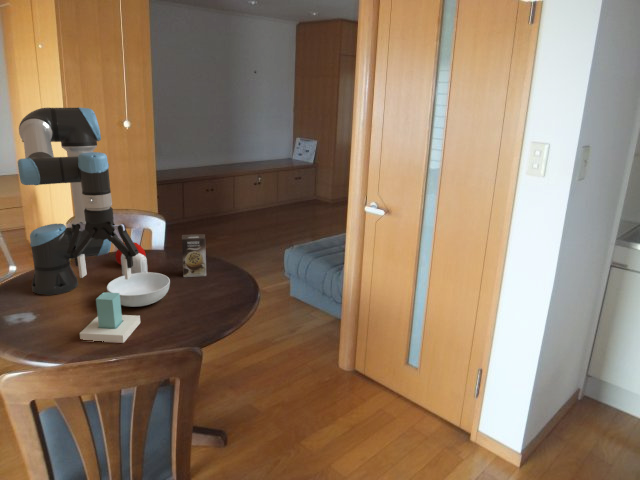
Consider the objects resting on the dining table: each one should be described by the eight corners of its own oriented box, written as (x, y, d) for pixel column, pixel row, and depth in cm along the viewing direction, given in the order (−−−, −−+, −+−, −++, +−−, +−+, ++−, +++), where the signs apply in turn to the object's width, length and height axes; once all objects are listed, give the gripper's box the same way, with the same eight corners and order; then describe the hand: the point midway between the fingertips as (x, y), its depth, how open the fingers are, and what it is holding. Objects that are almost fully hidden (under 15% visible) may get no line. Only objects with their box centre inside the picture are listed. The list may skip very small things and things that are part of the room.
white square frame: (80, 340, 147) (79, 333, 146) (100, 320, 159) (99, 313, 158) (123, 342, 146) (122, 335, 145) (140, 322, 159) (139, 315, 158)
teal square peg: (99, 335, 150) (95, 299, 147) (107, 327, 155) (103, 292, 151) (116, 335, 150) (112, 299, 147) (122, 328, 155) (119, 293, 151)
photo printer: (150, 282, 190) (148, 252, 186) (142, 286, 186) (140, 255, 183) (128, 278, 194) (126, 248, 190) (121, 282, 190) (118, 251, 186)
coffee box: (183, 277, 196) (181, 239, 191) (183, 271, 202) (181, 234, 197) (206, 276, 198) (205, 238, 193) (206, 270, 204) (204, 233, 199)
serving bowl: (126, 287, 185) (124, 270, 183) (179, 291, 183) (178, 274, 181) (96, 311, 166) (94, 292, 164) (156, 316, 164) (154, 297, 162)
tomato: (118, 261, 211) (116, 241, 208) (147, 260, 214) (146, 240, 211) (114, 270, 201) (112, 249, 198) (145, 268, 204) (143, 248, 201)
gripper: (47, 209, 137) (57, 280, 144) (136, 212, 137) (142, 283, 143) (62, 203, 145) (71, 270, 151) (146, 206, 144) (151, 273, 150)
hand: (105, 277), depth 147 cm, fingers open, 13 cm apart
